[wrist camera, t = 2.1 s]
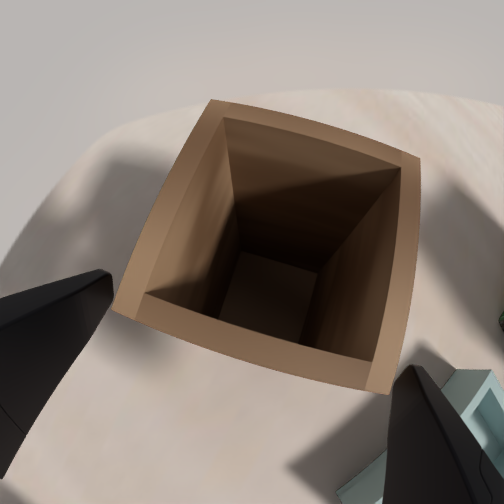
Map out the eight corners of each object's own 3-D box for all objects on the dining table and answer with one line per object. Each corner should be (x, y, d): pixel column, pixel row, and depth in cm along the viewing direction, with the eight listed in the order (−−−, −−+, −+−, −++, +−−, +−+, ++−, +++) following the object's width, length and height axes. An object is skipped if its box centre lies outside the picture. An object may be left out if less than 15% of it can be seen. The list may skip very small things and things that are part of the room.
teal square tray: (409, 546, 10) (428, 566, 7) (335, 491, 13) (352, 519, 9) (504, 446, 13) (532, 452, 9) (456, 369, 16) (491, 369, 12)
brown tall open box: (300, 362, 16) (389, 395, 5) (204, 333, 17) (110, 309, 5) (326, 270, 18) (420, 158, 7) (235, 243, 19) (210, 99, 7)
